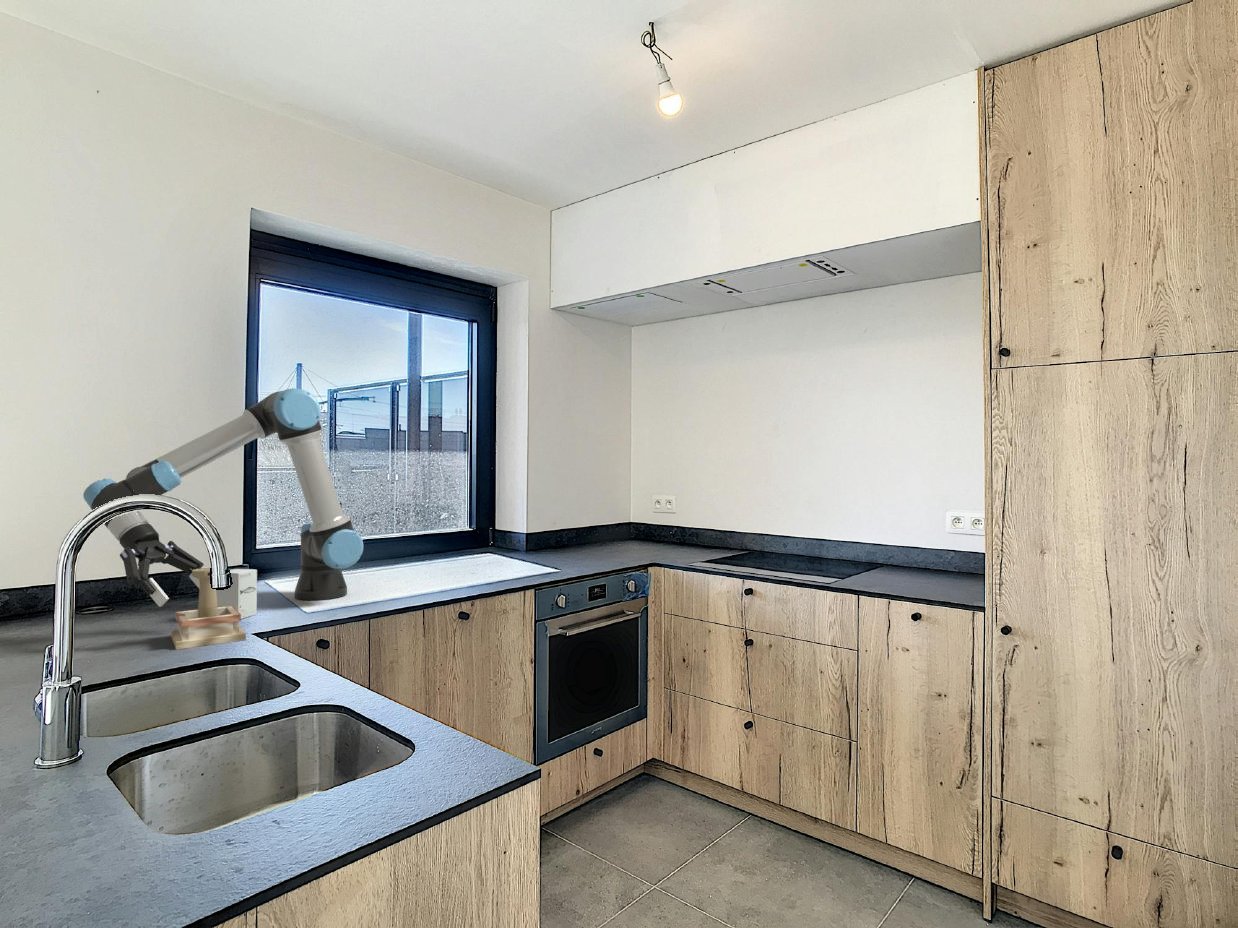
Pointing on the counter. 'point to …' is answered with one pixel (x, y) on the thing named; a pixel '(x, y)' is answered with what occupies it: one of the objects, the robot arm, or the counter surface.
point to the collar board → (207, 628)
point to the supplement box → (240, 592)
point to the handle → (205, 594)
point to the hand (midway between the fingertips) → (187, 597)
